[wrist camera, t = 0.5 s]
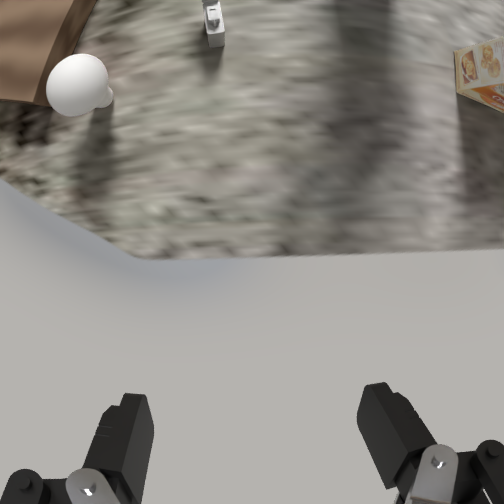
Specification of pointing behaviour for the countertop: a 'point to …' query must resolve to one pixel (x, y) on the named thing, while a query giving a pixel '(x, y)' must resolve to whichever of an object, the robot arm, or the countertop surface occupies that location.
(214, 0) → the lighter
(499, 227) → the countertop surface
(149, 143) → the countertop surface
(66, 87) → the lightbulb
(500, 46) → the coffeecake box
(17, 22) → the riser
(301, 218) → the countertop surface
